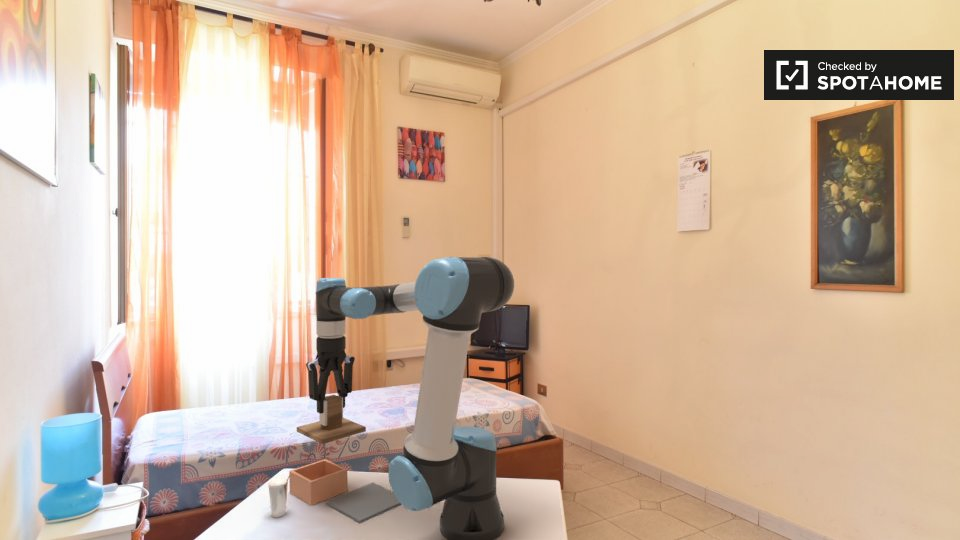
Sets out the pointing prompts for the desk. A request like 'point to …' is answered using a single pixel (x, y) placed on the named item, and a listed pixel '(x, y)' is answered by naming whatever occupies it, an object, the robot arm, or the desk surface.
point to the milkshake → (278, 495)
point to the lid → (332, 424)
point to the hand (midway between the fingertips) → (331, 422)
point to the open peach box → (318, 481)
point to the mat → (364, 502)
